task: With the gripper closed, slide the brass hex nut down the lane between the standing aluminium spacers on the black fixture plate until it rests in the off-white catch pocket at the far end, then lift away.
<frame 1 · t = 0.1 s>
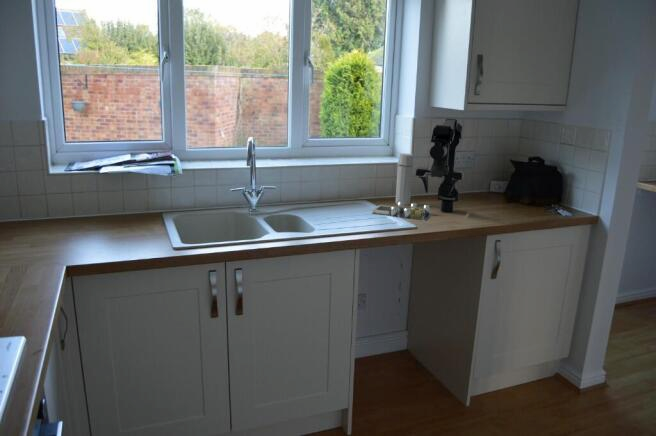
hand: (437, 194, 216), 15 cm above the worktop, fingers open, 9 cm apart
water bottle: (401, 205, 259), on the worktop
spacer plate: (401, 215, 238), on the worktop
hex nut: (416, 215, 235), point 1 cm above the worktop, touching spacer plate
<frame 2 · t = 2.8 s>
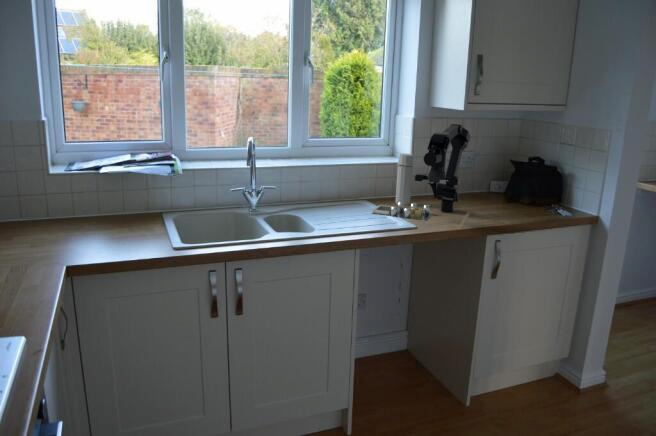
hand: (435, 198, 230), 10 cm above the worktop, fingers closed
nothing on the worktop moved.
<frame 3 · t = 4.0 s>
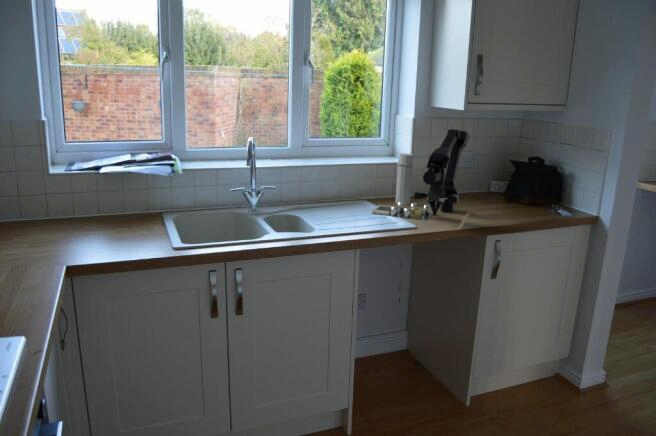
hand: (434, 215, 232), 2 cm above the worktop, fingers closed
nothing on the worktop moved.
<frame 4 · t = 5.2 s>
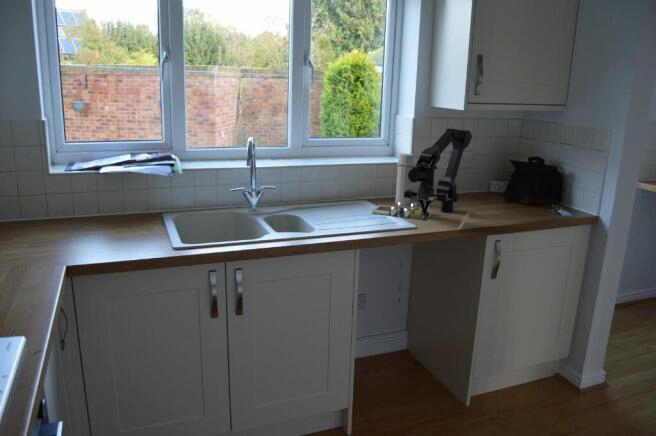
hand: (424, 214, 233), 2 cm above the worktop, fingers closed
hex nut: (416, 215, 235), point 1 cm above the worktop, touching gripper, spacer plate
everything else where it was.
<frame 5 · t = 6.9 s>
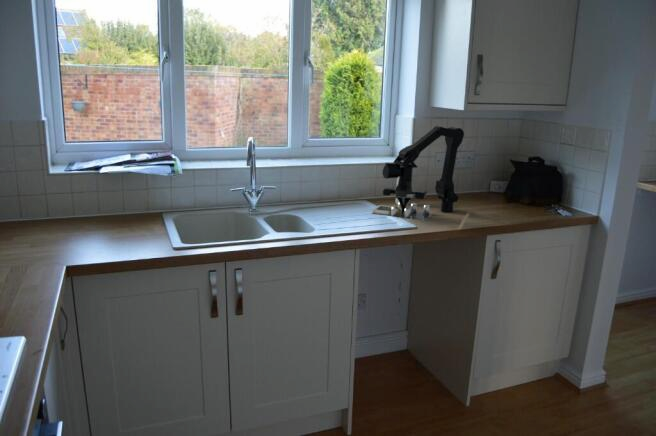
hand: (403, 211, 237), 2 cm above the worktop, fingers closed
hex nut: (395, 212, 238), point 1 cm above the worktop, touching gripper
everything else where it was.
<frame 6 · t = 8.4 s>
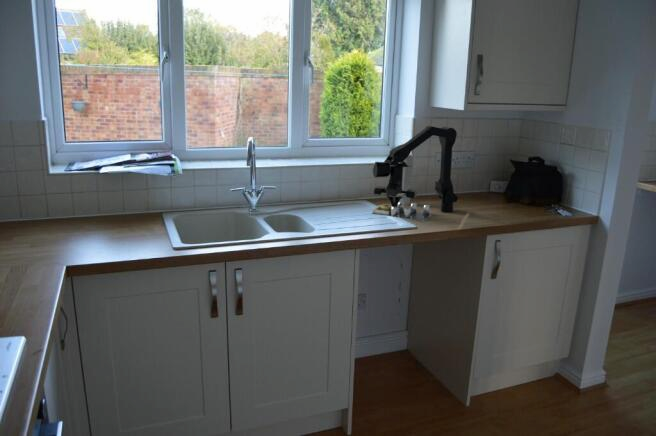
hand: (394, 210, 238), 2 cm above the worktop, fingers closed
hex nut: (386, 211, 240), point 1 cm above the worktop, touching gripper, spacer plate
everything else where it was.
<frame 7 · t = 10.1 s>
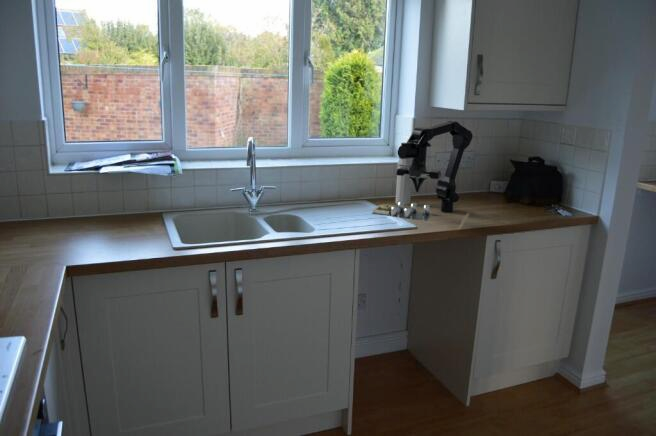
hand: (417, 192, 233), 12 cm above the worktop, fingers closed
hex nut: (386, 211, 240), point 1 cm above the worktop, touching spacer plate
everything else where it was.
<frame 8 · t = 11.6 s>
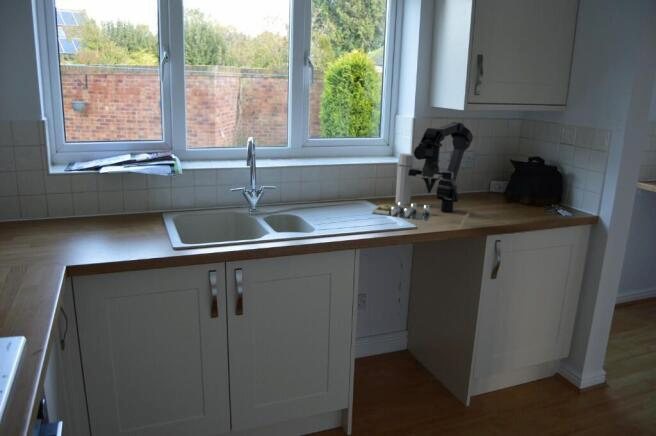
hand: (429, 192, 230), 12 cm above the worktop, fingers closed
nothing on the worktop moved.
at the end: hex nut inside the target area on the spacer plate (1.0 cm from its centre), point 1.0 cm above the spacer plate's base; hex nut tilted 0°; hex nut moved 13.8 cm from its start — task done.
